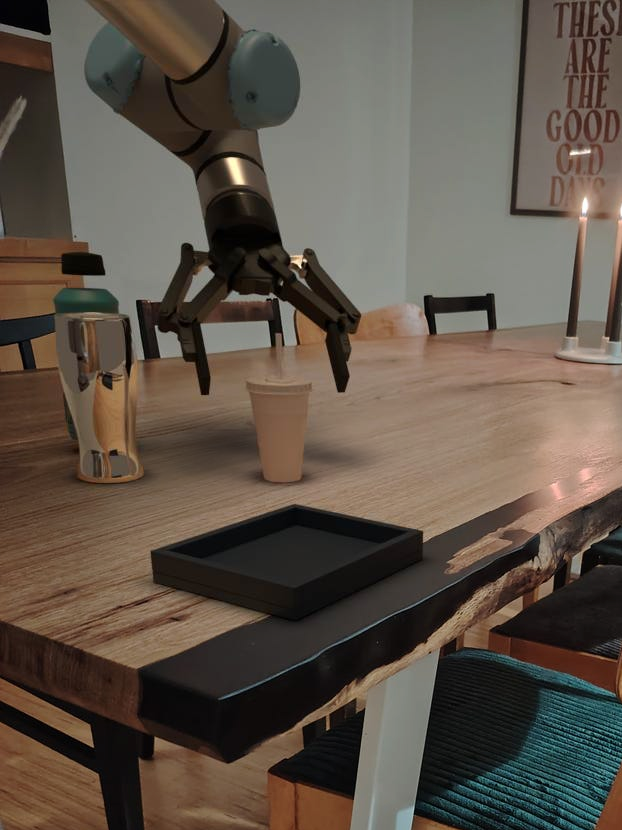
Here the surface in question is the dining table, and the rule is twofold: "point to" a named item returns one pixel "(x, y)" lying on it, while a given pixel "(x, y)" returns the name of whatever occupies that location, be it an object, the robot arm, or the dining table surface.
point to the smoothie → (280, 420)
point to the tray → (287, 559)
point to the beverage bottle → (83, 299)
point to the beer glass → (101, 392)
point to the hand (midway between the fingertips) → (276, 386)
